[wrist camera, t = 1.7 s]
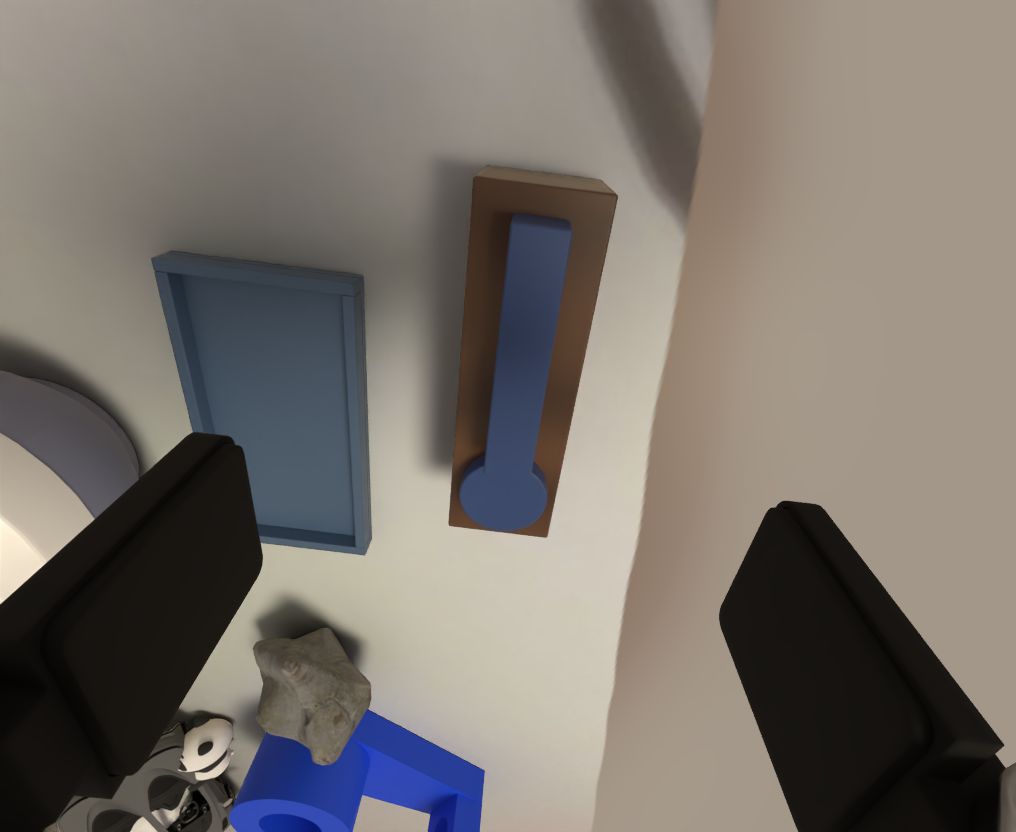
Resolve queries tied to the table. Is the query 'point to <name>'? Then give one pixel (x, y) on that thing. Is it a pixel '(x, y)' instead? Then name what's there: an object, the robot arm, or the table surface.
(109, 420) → the bowl
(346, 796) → the bracket
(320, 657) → the fossil
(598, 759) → the table surface
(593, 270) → the brown slab
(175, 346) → the blue tray
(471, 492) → the blue spoon
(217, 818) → the toy car
